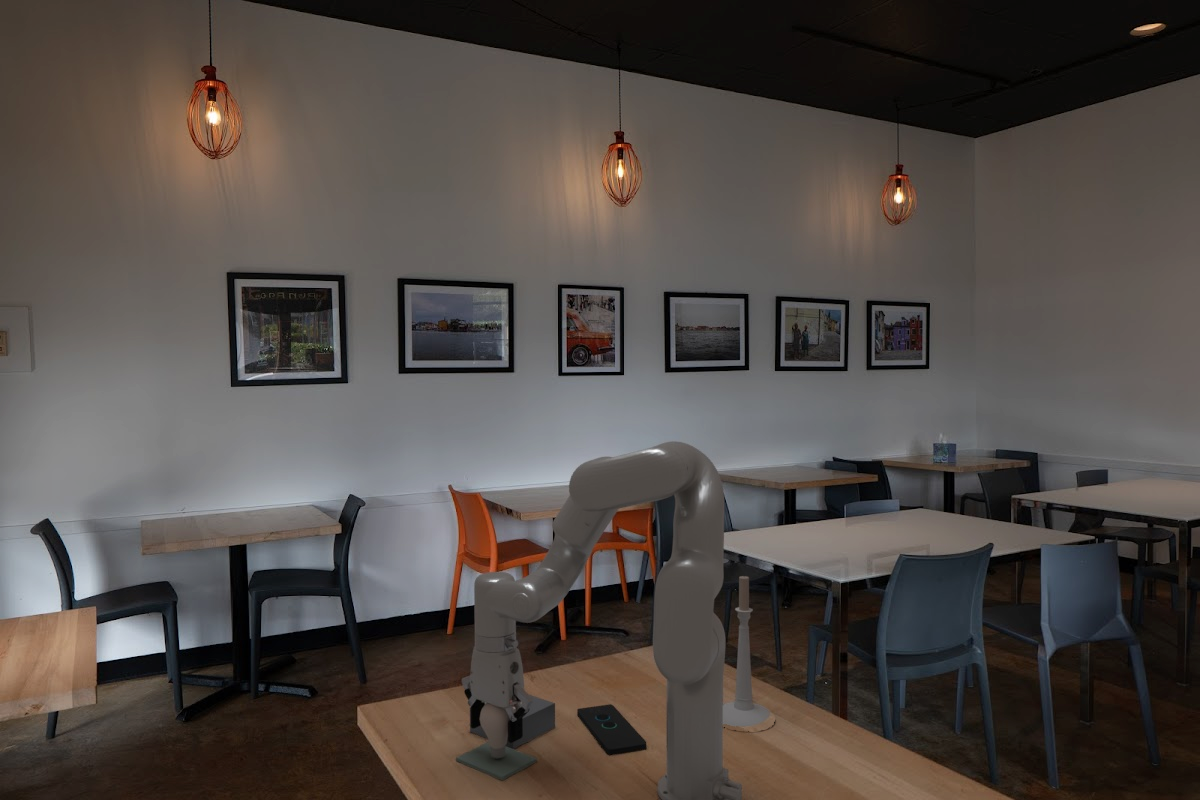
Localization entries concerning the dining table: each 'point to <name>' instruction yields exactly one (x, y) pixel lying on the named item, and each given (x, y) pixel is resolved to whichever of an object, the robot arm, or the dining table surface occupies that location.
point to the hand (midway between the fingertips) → (496, 732)
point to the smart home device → (611, 729)
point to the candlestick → (744, 671)
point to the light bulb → (495, 728)
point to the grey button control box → (530, 722)
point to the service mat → (496, 761)
